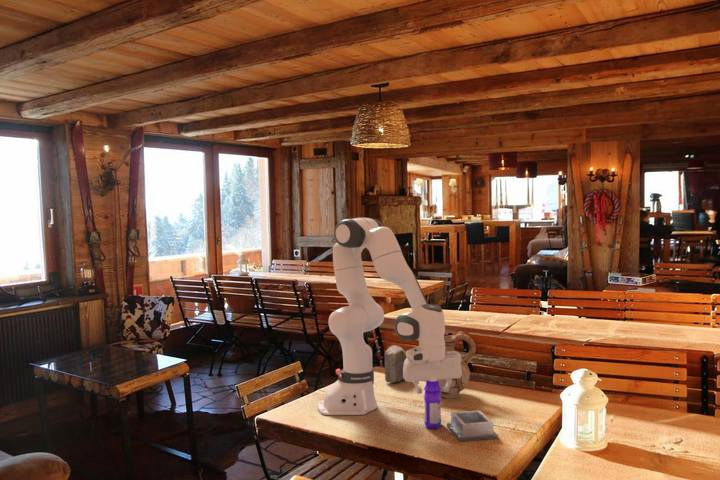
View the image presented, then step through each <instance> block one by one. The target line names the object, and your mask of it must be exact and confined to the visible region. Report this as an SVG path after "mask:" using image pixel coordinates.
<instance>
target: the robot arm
mask: <svg viewBox="0 0 720 480" xmlns="http://www.w3.org/2000/svg"><path fill="white" fill-rule="evenodd" d="M333 236H334V240H335V241H336V243H334V245H333V246H332V262H333V263H332V265H333V273H334V277H335V283H336V288H337V291H338V293H339V294H340V295H342V296H343V297H345V299H346V300H347V303H348V306H347V305H346V306H342V307H340V308H338V309H335V310H334V311H333V312H331V313H330V314H329V317H328V323H327V324H328V327H329V330H330V332H331V334H333V335H334V336H335V337H336V338H337V340H338V341H339V343H340V346H341V349H342V350H341V351H342V362H343V363H342V364H343V365H342V366H343V368H342V369H340V368H337V369H335V374H336V375H337V380H336V381H335V382H334V383H332V384H331V385H329V386H328V387H327V388H326V389H325V392H324V394H323V399H322V400H320V401H319V402H318V404H317V410H318V412H319V413H320V414H322V415H324V416H364V415H366V414H368V413H369V412H371V411H374V410H375V409H377V407H378V404H377V399H376V395H375V390H374V389H375V388H374V383H375V371H374V369H373V349H372V347H371V346H370V345H369V344H367V343H366V341H365V339H364V333H366V332H371V331H373V330H375V329H377V328H378V327H380V326H381V325H382V324H383V323H384V320H385V312H384V311H385V310H383V307H382V306H381V305H380V304H379V303H377V302H376V300H374V297H372V294H371V293H370V291H369V288H368V286H367V281H366V275H365V272H364V265H363V260H362V252H363V250H366V251H367V250H368V251H369V254H370V257H371V260H372V264H373V267H374V270H375V271H376V273H377V275H378V276H379V277H380V278H381V279H382V280H384V281H386V282H388V283H392V284H394V285H396V286H398V288H399V287H400V289H401V290H402V291H403V292H404V294H405V296H406V298H407V302H408V304H409V305H410V308H411V310H412V311H408V312H404V313H402V314H400V315H398V316H397V317H396V318H395V320H394V331H395V334H396V335H397V337H398V338H399V339H401V340H402V341H407V342H408V341H414V340H415V341H416V340H417V341H418V346H416V347H413V348H409V349H408V350H406V351H405V354H406V358H405V361H404V366H403V378H404V379H403V380H405V382H406V383H407V382H408V383H410V382H412V383H413V385H414V387H415V388H416V394H418V395H420V394H423V388H422V387H421V386H420V387H419V383H420V382H423V381H424V382H426V381H428V380H430V379H431V378H437V380H442V379H446V380H447V383H446V385H444V386H443V391H444V392H448V391H449V386H450V384H451V382H452V379H457V378H460V377H461V376H462V369H461V360H462V354H461V353H460V352H459V351H457V350H455V351H447V352H445V341H444V336H445V333H446V321H445V320H446V319H445V314H444V311H443V308H441V307H440V306H438V305H436V304H432V303H430V304H429V303H428V301H427V299H426V296H425V293H424V292H423V290H422V287H421V285H420V284H419V283H420V282H419V281H418V279H417V276H416V275H415V273H414V272H413V271H412V269H411V268H410V266H409V265H408V263H407V261H406V259H405V257H404V255H403V252H402V249H401V246H400V244H399V242H398V240H397V237H396V236H395V234H394V232H393V230H392V229H391V228H390V227H388V226H384V225H383V224H382V222H381V221H380V220H378V219H376V218H373V217H355V218H347V219H346V218H345V219H343V220H340V221H338V223H337V224H336V225H335V227H334V230H333Z"/></svg>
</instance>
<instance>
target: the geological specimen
mask: <svg viewBox="0 0 720 480" xmlns="http://www.w3.org/2000/svg"><path fill="white" fill-rule="evenodd" d="M383 355H384V378H385V382H386V383H390V384H391V383H393V384H394V383H397V382H400V381H403V380H405V379H404V378H403V366H404V361H405V359H406V358H407V357H406V351H405V350H404V349H403V348H402V347H401V346H400V345H399V346H398V345H396V344H392V345H390V346H388V347H387V349H386V350H385V352H384V354H383Z"/></svg>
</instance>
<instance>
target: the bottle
mask: <svg viewBox="0 0 720 480" xmlns="http://www.w3.org/2000/svg"><path fill="white" fill-rule="evenodd" d="M440 390H441V388H440V386H439V382H438V380H437V378H431V379H430V380H428V381H425V385H424V395H423V396H424V397H423V399H424V400H423V401H424V421H423V422H424V425H425V427H426V428H427V429H434V430H436V429H440V426H441V424H442V412H441V411H442V409H441V406H442V405H441V403H442V402H441V401H442V398H441V397H442V396H441V394H440Z"/></svg>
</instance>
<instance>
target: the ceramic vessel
mask: <svg viewBox="0 0 720 480" xmlns="http://www.w3.org/2000/svg"><path fill="white" fill-rule="evenodd" d="M460 340H462V341H464V342H466V343H467V345H468V346H469V351H468V353H467V354H466V356H465V358H463V359H461V369H462V376H461V377H460V378H457V379H452V382H451V384H450V386H449V391H448V392H444V391H443V386H444V385H446V383H447V380H446V379H442V380H438V382H439V386H440V388H441V390H440V394H441V397H442V398H445V399H456V398H460V394H461V392H462V391H464V390H465V388H466V387H467V386H468V384H469V381H470V376H471V372H470V371H471V370H470V368H469V365H468V364H469V363H471V361H472V360H473V358H474V356H475V355H476V350H477V347H476V346H477V345H476V343H475V341H474V339H473V338H472V337H471V336H470V335H467V334H465V333H456V334H453V335H451V334H449V335H444V341H445V352H447V351H456V349H455V346H456V344H457V342H459V341H460Z"/></svg>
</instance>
